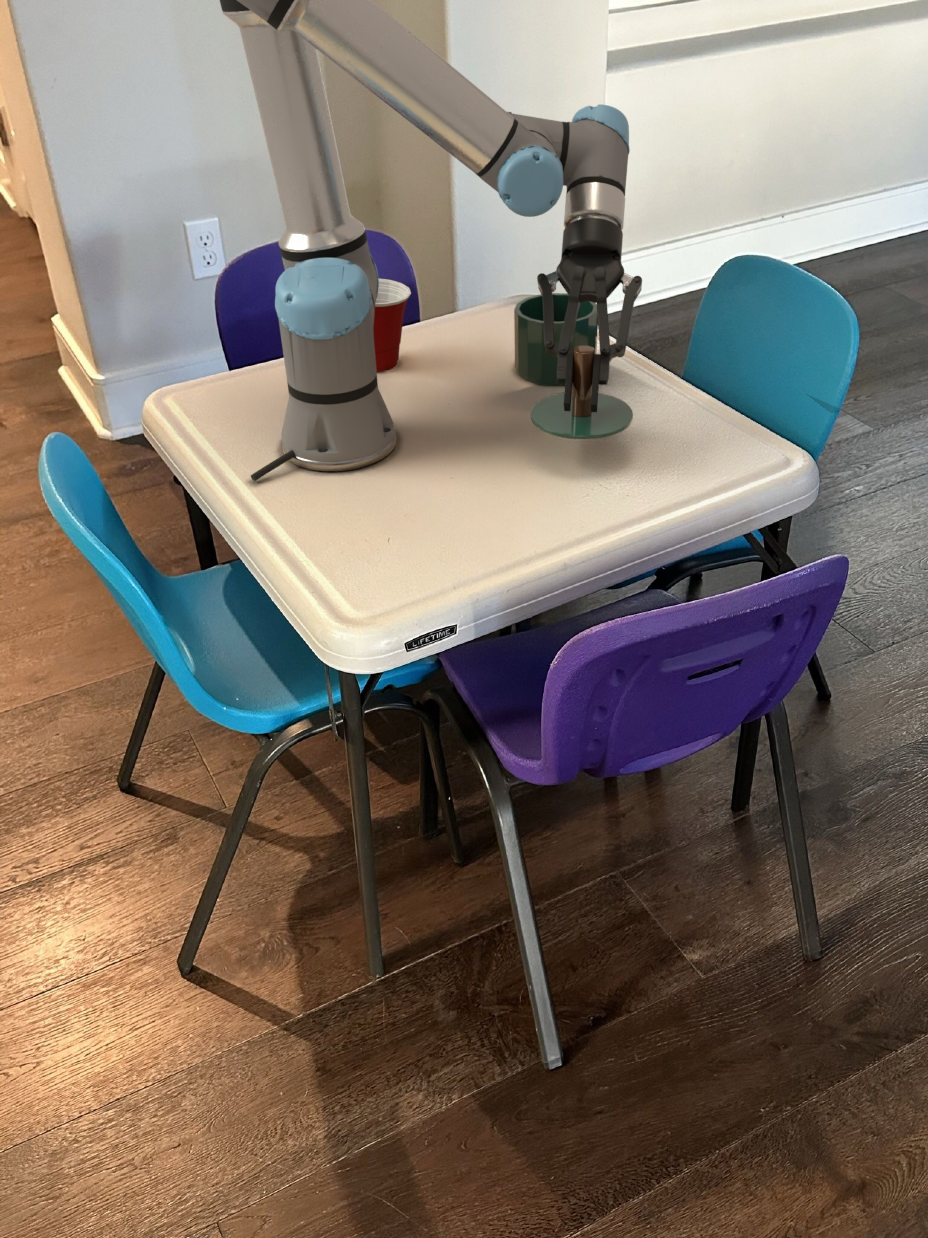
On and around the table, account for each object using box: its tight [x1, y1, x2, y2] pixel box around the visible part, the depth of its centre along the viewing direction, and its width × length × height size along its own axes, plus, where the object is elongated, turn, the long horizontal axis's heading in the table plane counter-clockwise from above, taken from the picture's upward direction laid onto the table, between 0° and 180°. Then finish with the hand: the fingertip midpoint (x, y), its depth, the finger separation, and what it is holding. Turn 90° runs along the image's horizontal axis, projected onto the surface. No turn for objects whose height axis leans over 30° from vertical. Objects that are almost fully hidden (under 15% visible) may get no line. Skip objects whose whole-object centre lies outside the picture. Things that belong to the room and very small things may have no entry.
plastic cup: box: [373, 278, 412, 373], centre depth 170 cm, size 11×11×12 cm
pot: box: [513, 292, 599, 387], centre depth 167 cm, size 12×12×10 cm
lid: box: [530, 346, 634, 440], centre depth 141 cm, size 13×13×10 cm
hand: (580, 407), depth 139 cm, fingers closed on lid, 3 cm apart
